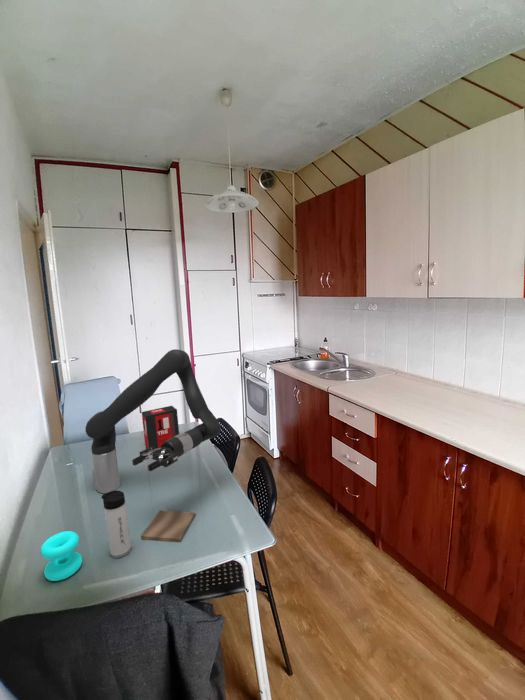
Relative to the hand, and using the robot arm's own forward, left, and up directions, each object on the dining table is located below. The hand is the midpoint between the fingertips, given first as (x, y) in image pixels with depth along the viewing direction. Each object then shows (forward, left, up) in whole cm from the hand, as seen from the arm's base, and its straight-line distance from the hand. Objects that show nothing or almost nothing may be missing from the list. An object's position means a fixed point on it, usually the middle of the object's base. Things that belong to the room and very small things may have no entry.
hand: (140, 465), depth 117 cm
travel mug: (-4, -10, -25) cm, 27 cm away
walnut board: (+7, +3, -24) cm, 25 cm away
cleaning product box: (-26, +67, -25) cm, 76 cm away
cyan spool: (-17, -19, -25) cm, 36 cm away
